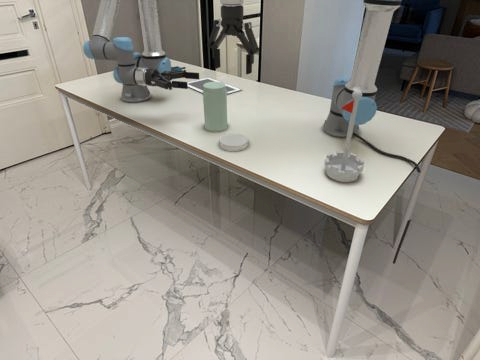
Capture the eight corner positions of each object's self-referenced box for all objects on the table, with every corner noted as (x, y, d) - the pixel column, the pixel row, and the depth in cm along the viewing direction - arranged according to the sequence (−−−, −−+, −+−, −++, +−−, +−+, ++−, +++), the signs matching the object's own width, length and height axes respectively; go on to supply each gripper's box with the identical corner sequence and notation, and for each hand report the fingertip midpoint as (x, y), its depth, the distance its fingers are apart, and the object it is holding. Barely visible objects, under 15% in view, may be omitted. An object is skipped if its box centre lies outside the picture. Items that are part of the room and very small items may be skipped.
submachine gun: (171, 61, 241) (190, 66, 224) (171, 66, 243) (190, 72, 226) (125, 69, 222) (142, 76, 205) (126, 75, 224) (143, 82, 207)
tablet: (181, 84, 205) (181, 83, 205) (208, 77, 216) (208, 77, 216) (213, 98, 185) (213, 97, 185) (241, 90, 196) (241, 89, 196)
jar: (224, 121, 159) (223, 80, 148) (229, 130, 151) (228, 87, 140) (203, 123, 157) (200, 82, 146) (207, 132, 148) (204, 89, 138)
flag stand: (346, 161, 127) (361, 81, 110) (369, 179, 117) (390, 94, 100) (316, 168, 123) (327, 86, 106) (337, 186, 113) (353, 99, 96)
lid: (241, 153, 132) (241, 148, 131) (214, 147, 136) (214, 142, 135) (252, 141, 141) (252, 136, 140) (227, 136, 145) (227, 131, 144)
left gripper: (161, 77, 161) (203, 80, 157) (135, 94, 141) (182, 98, 137) (159, 61, 157) (202, 64, 153) (132, 76, 137) (180, 80, 132)
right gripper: (271, 6, 108) (268, 73, 120) (208, 1, 119) (211, 63, 131) (259, 8, 103) (257, 78, 114) (194, 3, 114) (199, 68, 126)
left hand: (193, 80), depth 145 cm, fingers open, 13 cm apart
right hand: (232, 70), depth 123 cm, fingers open, 13 cm apart
